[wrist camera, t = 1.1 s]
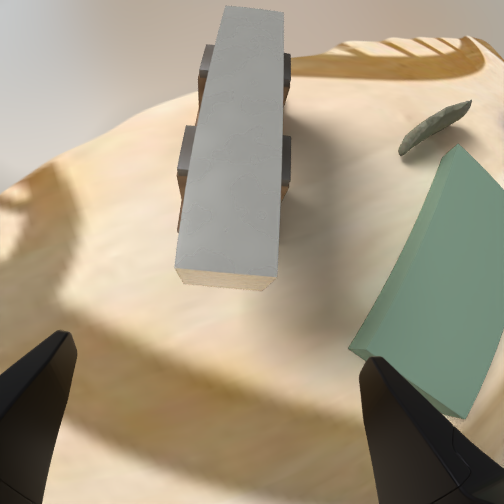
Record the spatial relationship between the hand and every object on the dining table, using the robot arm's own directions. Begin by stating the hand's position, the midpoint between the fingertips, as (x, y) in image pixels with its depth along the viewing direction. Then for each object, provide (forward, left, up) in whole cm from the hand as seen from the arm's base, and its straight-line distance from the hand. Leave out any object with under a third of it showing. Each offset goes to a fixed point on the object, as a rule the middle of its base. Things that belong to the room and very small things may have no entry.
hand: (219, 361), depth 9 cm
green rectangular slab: (+3, -21, -13) cm, 25 cm away
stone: (+18, -22, -13) cm, 32 cm away
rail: (+12, -2, -7) cm, 14 cm away
